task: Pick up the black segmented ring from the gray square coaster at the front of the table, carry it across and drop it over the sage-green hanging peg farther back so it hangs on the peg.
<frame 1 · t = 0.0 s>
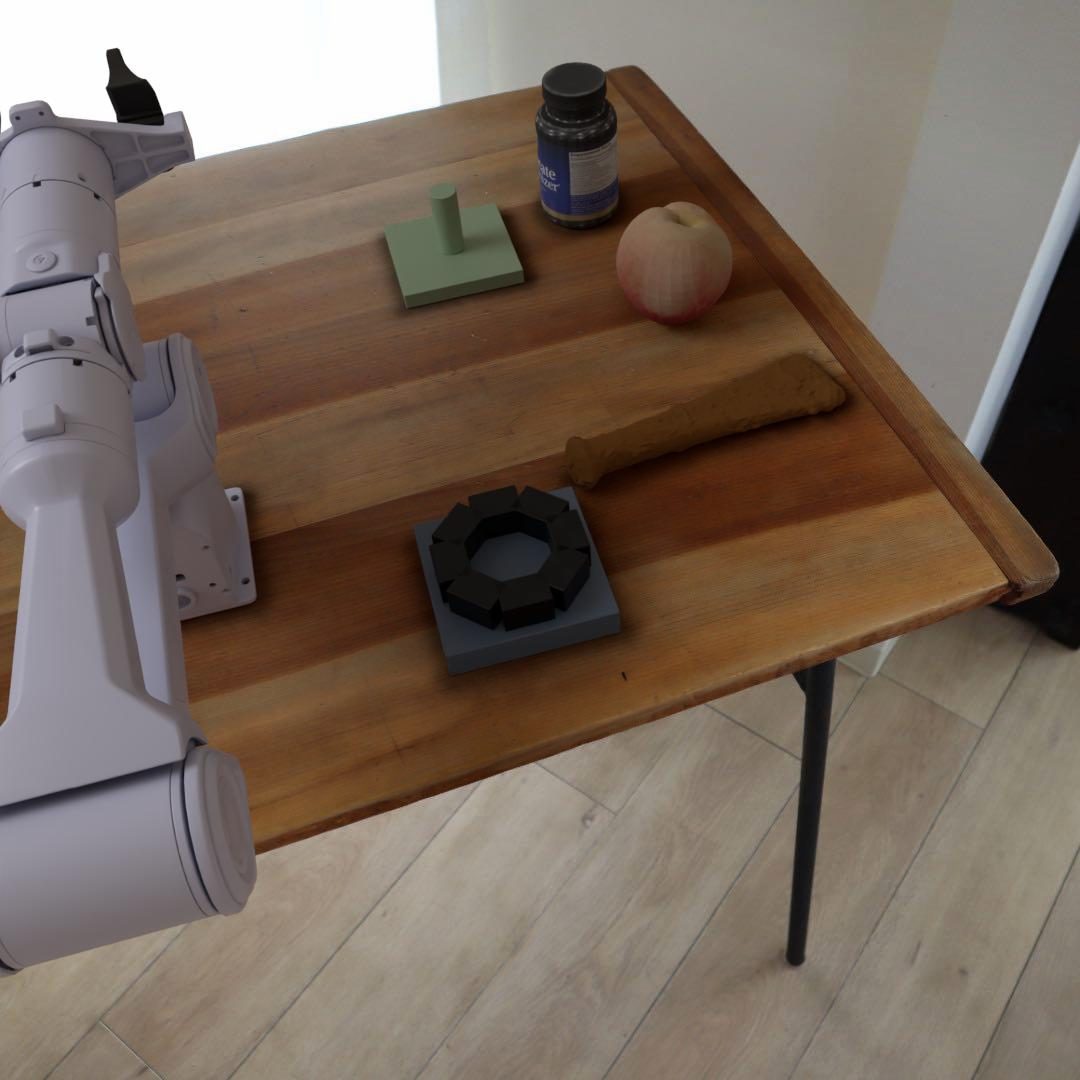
hand: (52, 76, 69), 22 cm above the table, tool horizontal, fingers open, 7 cm apart
gray square coaster: (515, 587, 70), on the table
fruit: (673, 310, 85), on the table
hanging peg: (453, 260, 90), on the table
pill bottle: (580, 210, 93), on the table
black segmented ring: (512, 566, 68), point 2 cm above the table, touching gray square coaster
primitive tool: (704, 428, 77), on the table
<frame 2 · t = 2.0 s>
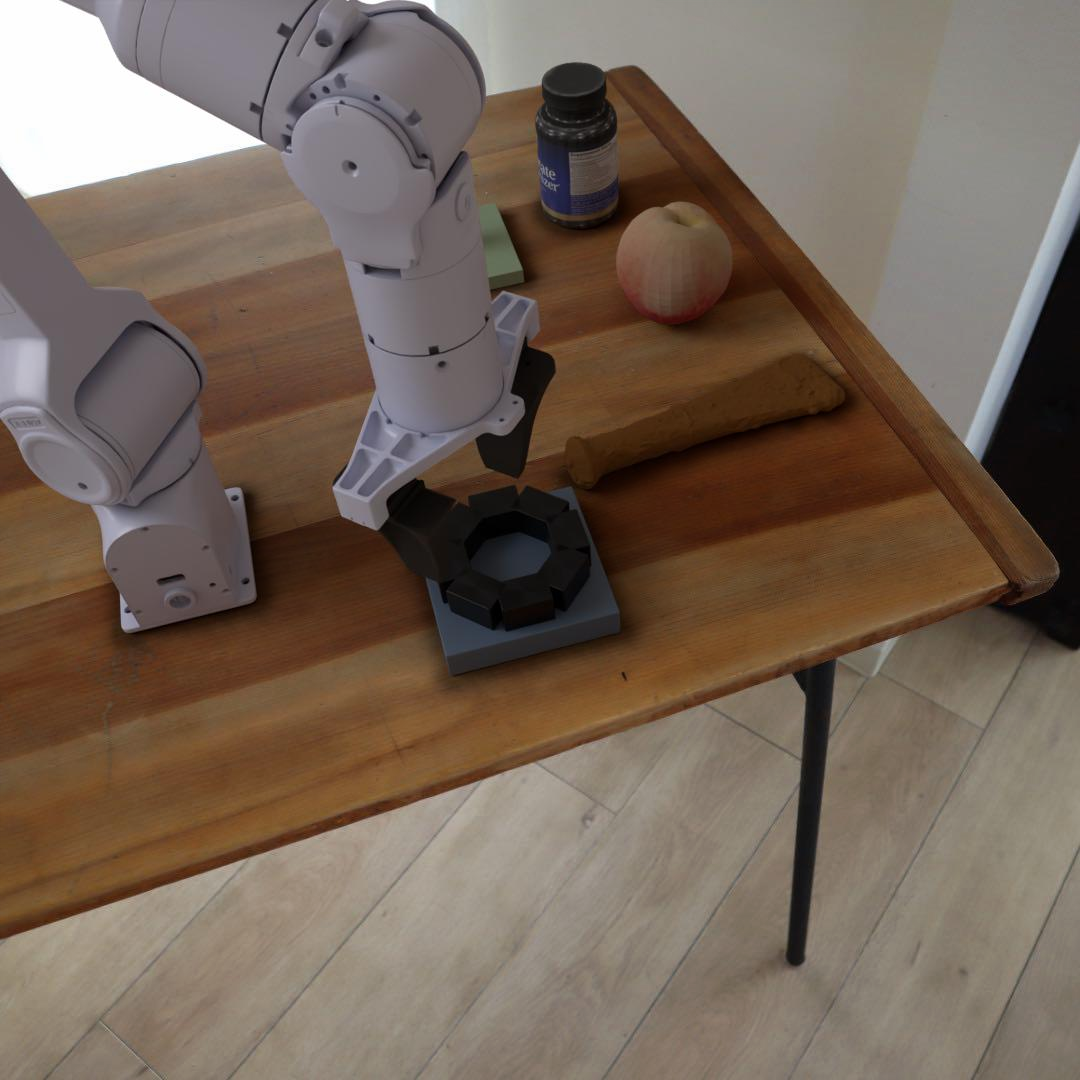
hand: (467, 518, 61), 9 cm above the table, tool pointing down, fingers open, 7 cm apart
nothing on the table moved.
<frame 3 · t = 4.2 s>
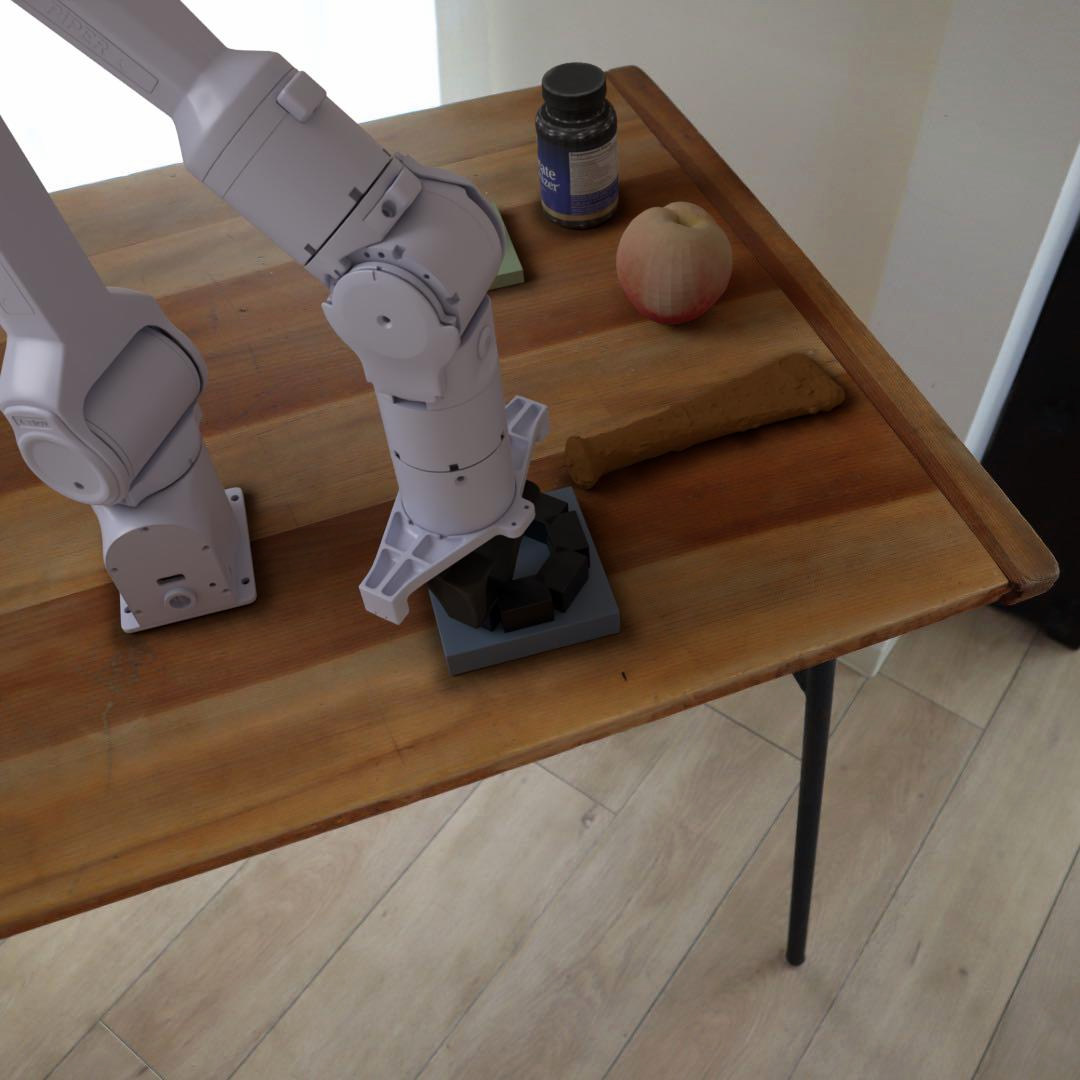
hand: (479, 600, 66), 3 cm above the table, tool pointing down, fingers closed on black segmented ring, 2 cm apart
black segmented ring: (511, 567, 68), point 2 cm above the table, touching gripper, gray square coaster
everything else where it was.
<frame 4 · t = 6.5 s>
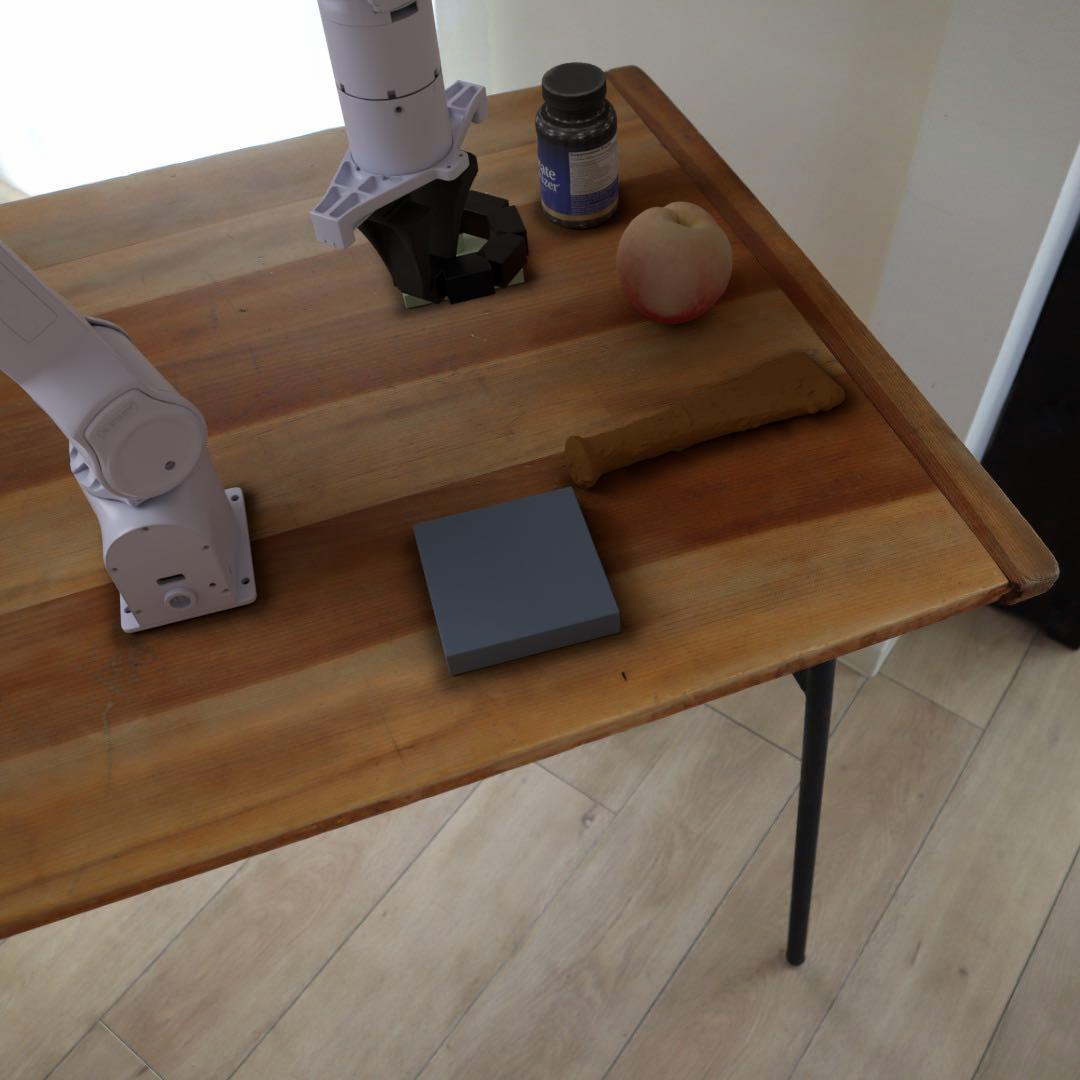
hand: (426, 277, 73), 10 cm above the table, tool pointing down, fingers closed on black segmented ring, 2 cm apart
black segmented ring: (457, 258, 75), point 9 cm above the table, touching gripper
everything else where it was.
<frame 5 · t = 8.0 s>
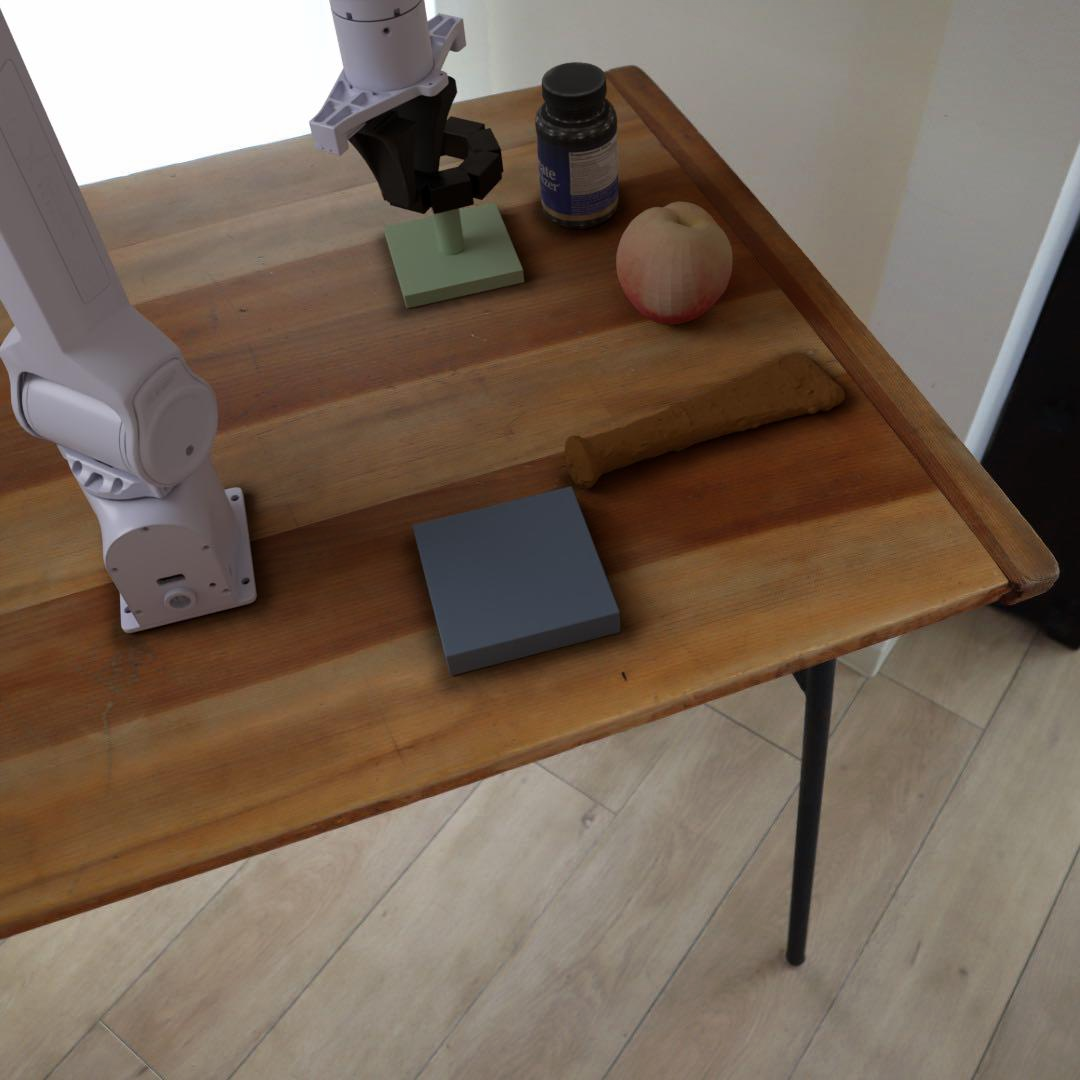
hand: (411, 191, 82), 8 cm above the table, tool pointing down, fingers closed on black segmented ring, 2 cm apart
black segmented ring: (439, 176, 84), point 7 cm above the table, touching gripper
everything else where it was.
when the fingers open (5 cm above the table, at t = 9.3 s): black segmented ring drops 3 cm, resting on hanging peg.
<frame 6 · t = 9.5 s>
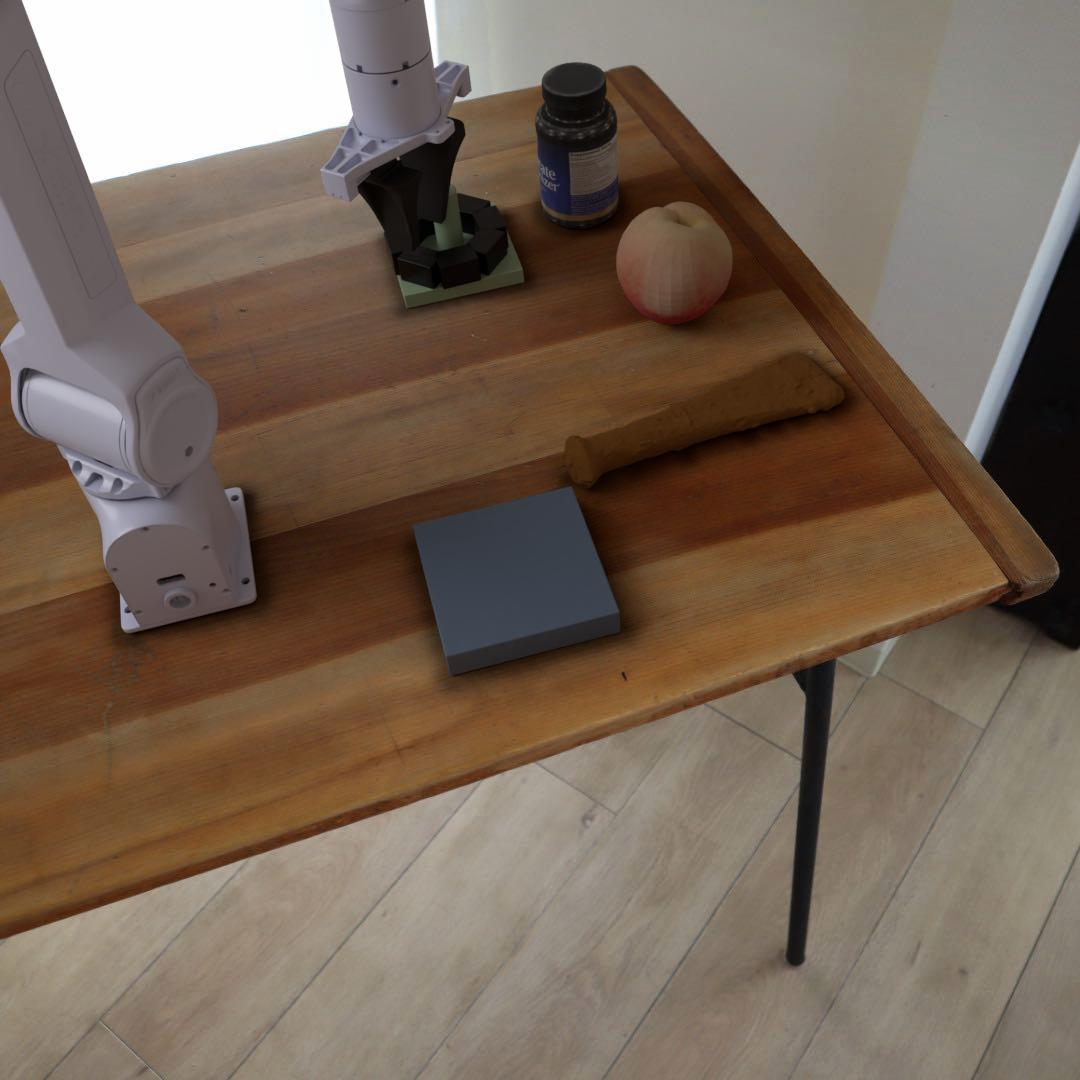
hand: (418, 231, 85), 5 cm above the table, tool pointing down, fingers open, 3 cm apart
black segmented ring: (448, 251, 89), point 1 cm above the table, touching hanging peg
everything else where it was.
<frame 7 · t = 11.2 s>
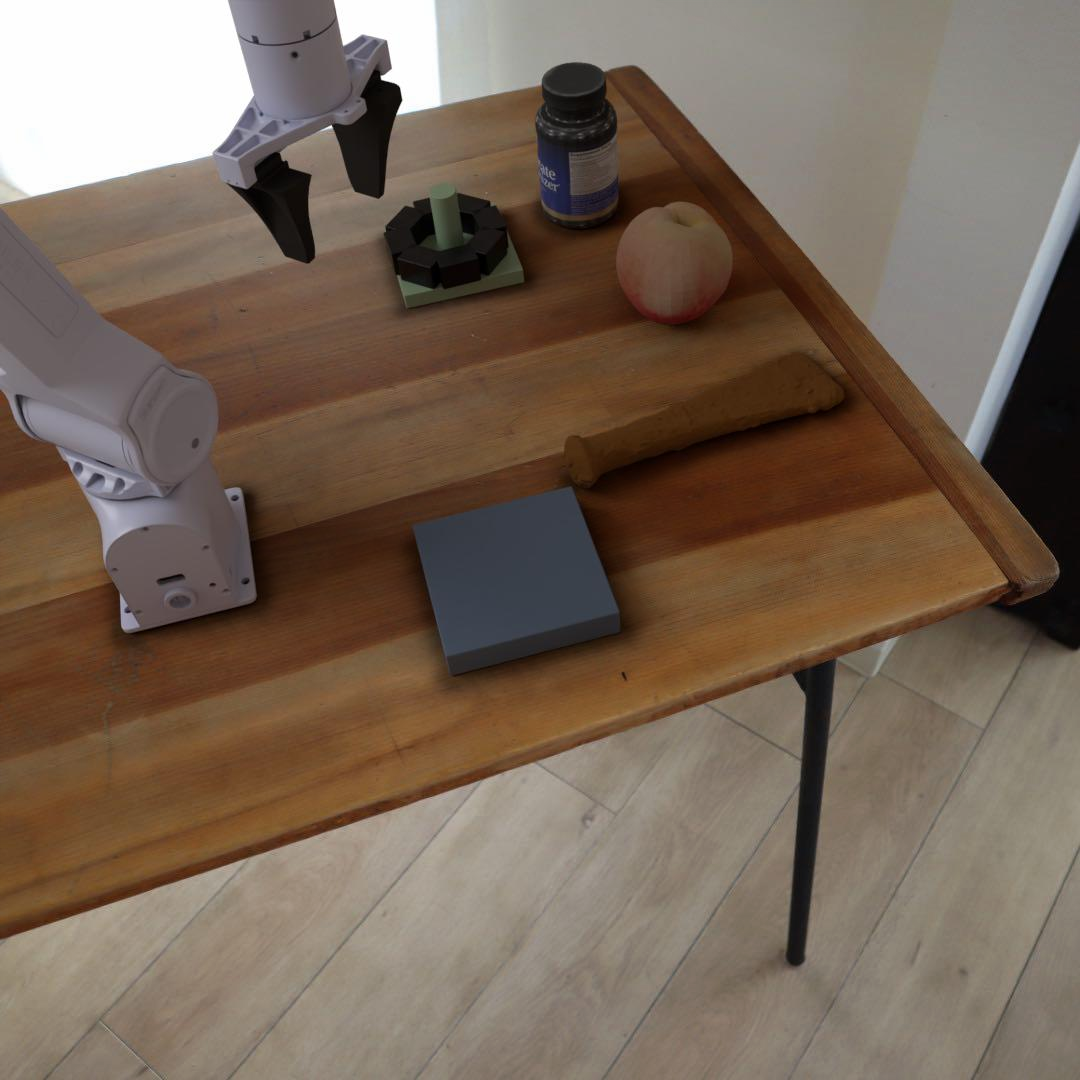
hand: (335, 224, 77), 10 cm above the table, tool pointing down, fingers open, 7 cm apart
nothing on the table moved.
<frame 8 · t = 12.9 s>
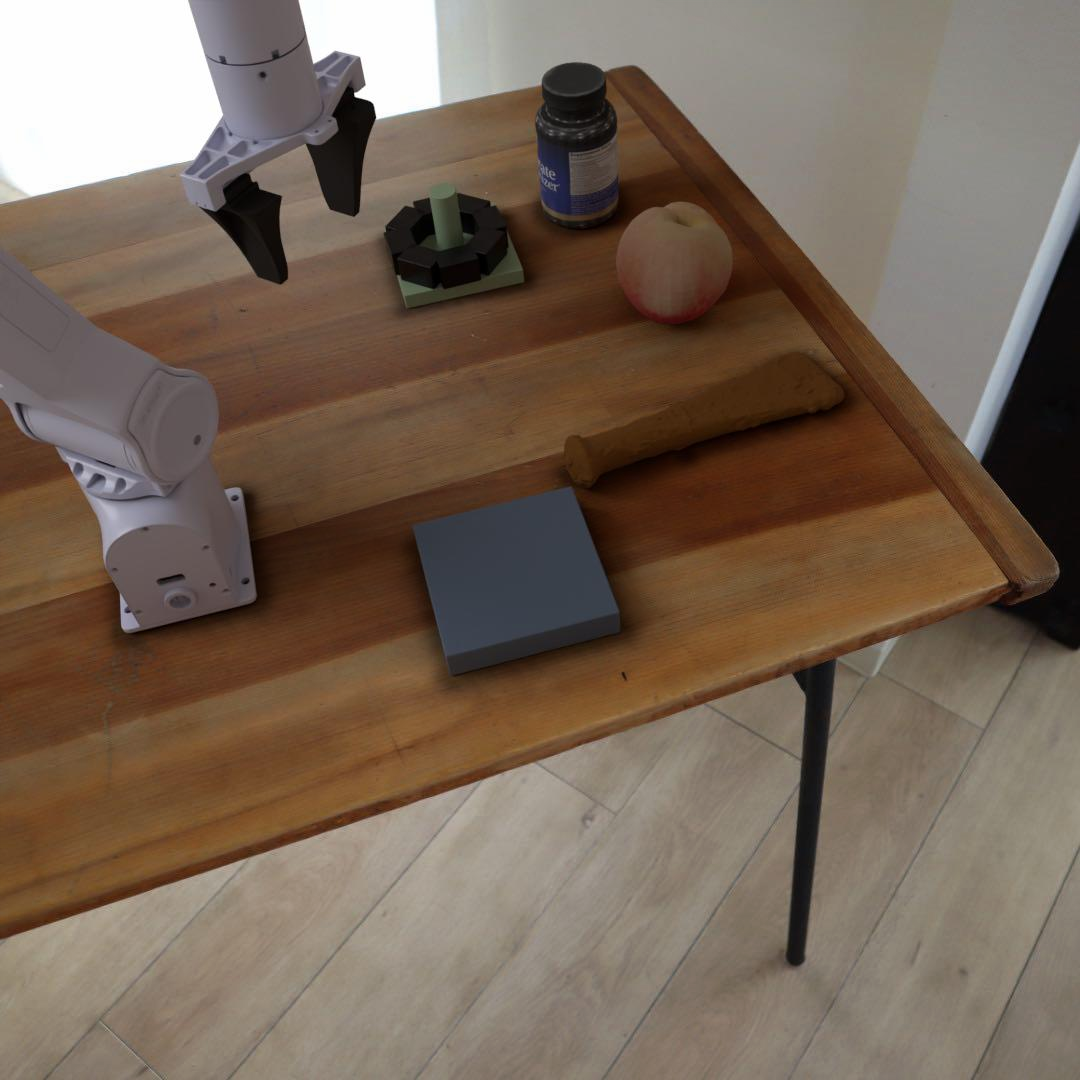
hand: (309, 243, 75), 10 cm above the table, tool pointing down, fingers open, 7 cm apart
nothing on the table moved.
at the end: black segmented ring 0.5 cm off-centre on the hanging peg, point 1.2 cm above the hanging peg's base; the gripper is holding nothing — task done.
